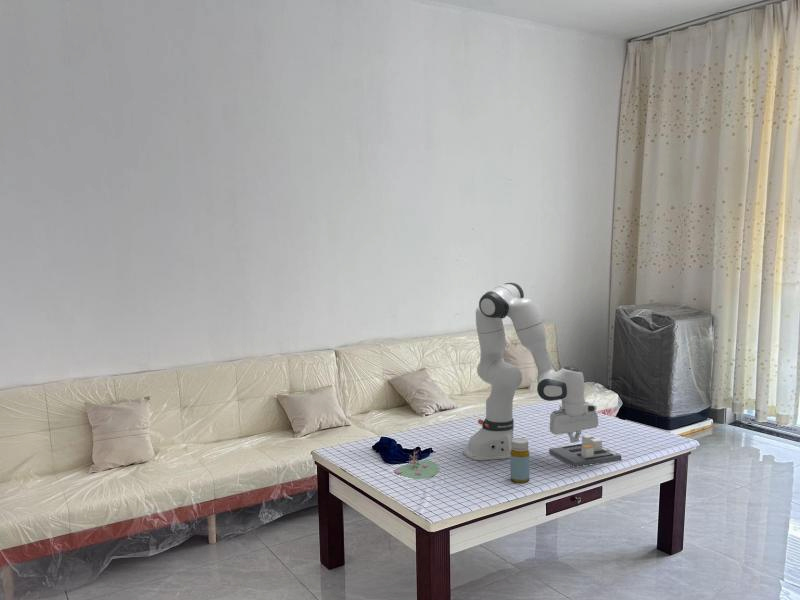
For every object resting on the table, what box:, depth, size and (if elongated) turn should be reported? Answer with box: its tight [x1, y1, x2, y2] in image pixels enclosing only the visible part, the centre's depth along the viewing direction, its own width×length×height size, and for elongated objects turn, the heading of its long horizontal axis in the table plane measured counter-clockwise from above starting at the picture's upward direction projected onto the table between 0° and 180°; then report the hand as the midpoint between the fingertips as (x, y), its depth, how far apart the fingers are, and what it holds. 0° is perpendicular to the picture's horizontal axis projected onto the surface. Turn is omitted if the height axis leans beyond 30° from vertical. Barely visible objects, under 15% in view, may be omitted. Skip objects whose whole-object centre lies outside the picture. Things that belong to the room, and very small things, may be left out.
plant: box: [393, 447, 440, 480], centre depth 246 cm, size 25×21×9 cm
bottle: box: [509, 437, 530, 483], centre depth 235 cm, size 7×7×15 cm
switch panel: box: [548, 434, 622, 468], centre depth 259 cm, size 22×18×6 cm
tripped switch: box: [581, 445, 594, 458], centre depth 253 cm, size 4×3×4 cm
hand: (574, 441), depth 250 cm, fingers closed
